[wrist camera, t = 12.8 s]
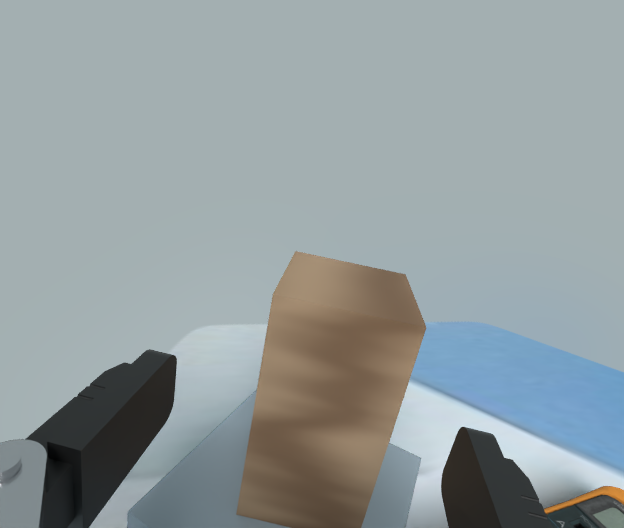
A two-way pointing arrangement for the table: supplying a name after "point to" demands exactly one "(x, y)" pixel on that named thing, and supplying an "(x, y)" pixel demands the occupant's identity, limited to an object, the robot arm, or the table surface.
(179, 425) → the table surface
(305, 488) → the walnut block
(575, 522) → the multimeter
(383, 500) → the slate box
